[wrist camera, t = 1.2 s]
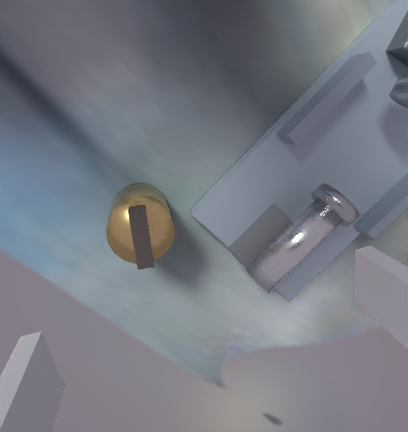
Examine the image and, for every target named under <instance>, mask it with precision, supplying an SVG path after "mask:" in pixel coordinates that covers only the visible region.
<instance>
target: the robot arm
mask: <svg viewBox="0 0 408 432" xmlns="http://www.w3.org/2000/svg"><path fill="white" fill-rule="evenodd" d="M354 302H355V303H356V304H357V305H359V306H360V307H361V308H362V309H363V310H364V311H365V312H366V313H368V314H369V315H370V316H371V317H372V318H373V319H374V320H375V321H377V322H378V323H379V324H380V325H381V326H382V327H383V328H385V329H386V330H387V331H388V332H389V333H390V334H391V335H392V336H394V337H395V338H396V339H397V340H398V341H399V342H400V343H401V344H403V345H404V346H405V347H406V348H407V349H408V267H407V266H405V265H404V264H402V263H400V262H398V261H397V260H395V259H393V258H392V257H390V256H388V255H386V254H385V253H383V252H381V251H380V250H378V249H376V248H374V247H373V246H367V247H363V248H359V249H356V250H355V288H354ZM64 387H65V383H64V380H63V378H62V376H61V373H60V371H59V369H58V367H57V365H56V362H55V360H54V358H53V356H52V353H51V351H50V349H49V346H48V344H47V342H46V339H45V338H44V335H43V333H42V331H41V332H37V333H33V334H30V335H25V336H22V337H20V339H19V341H18V343H17V345H16V347H15V349H14V351H13V353H12V355H11V357H10V359H9V361H8V363H7V365H6V367H5V369H4V371H3V373H2V374H1V376H0V432H53V430H54V426H55V422H56V418H57V415H58V411H59V407H60V402H61V399H62V395H63V391H64Z"/></svg>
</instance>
